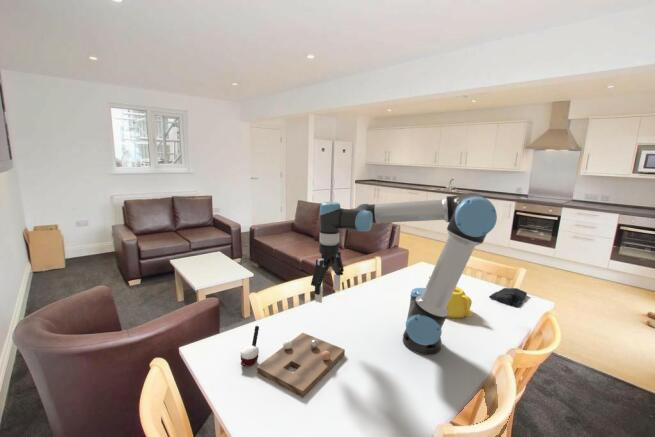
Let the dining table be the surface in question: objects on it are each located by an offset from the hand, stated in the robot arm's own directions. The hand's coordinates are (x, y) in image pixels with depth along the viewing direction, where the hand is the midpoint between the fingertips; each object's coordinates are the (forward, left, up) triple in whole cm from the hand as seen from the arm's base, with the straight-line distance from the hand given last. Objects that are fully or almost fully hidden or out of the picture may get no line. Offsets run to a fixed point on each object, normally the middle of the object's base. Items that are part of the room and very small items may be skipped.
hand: (327, 295), depth 123 cm
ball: (0, +9, -16) cm, 19 cm away
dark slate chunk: (-60, -94, -21) cm, 113 cm away
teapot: (-34, -58, -21) cm, 71 cm away
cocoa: (+16, +27, -21) cm, 37 cm away
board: (0, +16, -20) cm, 26 cm away
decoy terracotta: (-8, +12, -16) cm, 22 cm away
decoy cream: (+8, +15, -16) cm, 24 cm away
